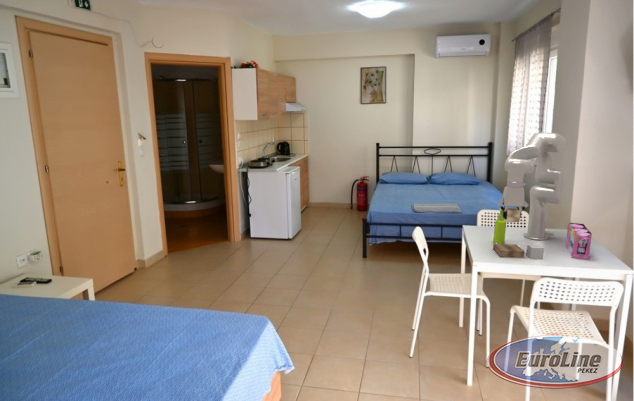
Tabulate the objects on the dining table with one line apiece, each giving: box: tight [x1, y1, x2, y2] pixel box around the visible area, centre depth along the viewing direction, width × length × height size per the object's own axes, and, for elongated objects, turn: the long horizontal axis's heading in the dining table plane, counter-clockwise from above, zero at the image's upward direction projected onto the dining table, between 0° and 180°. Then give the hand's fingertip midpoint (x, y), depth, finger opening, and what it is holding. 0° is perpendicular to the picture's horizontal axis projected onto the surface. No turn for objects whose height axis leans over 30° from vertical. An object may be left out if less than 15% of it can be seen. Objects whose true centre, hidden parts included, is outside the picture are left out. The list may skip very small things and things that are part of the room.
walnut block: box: [492, 243, 526, 259], centre depth 233 cm, size 12×12×4 cm
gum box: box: [565, 222, 593, 260], centre depth 235 cm, size 24×8×14 cm, turn 159°
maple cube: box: [504, 207, 521, 223], centre depth 229 cm, size 6×6×6 cm
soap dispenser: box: [492, 208, 507, 244], centre depth 251 cm, size 6×7×20 cm
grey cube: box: [525, 243, 545, 260], centre depth 228 cm, size 6×6×6 cm
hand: (511, 218), depth 229 cm, fingers closed on maple cube, 6 cm apart
